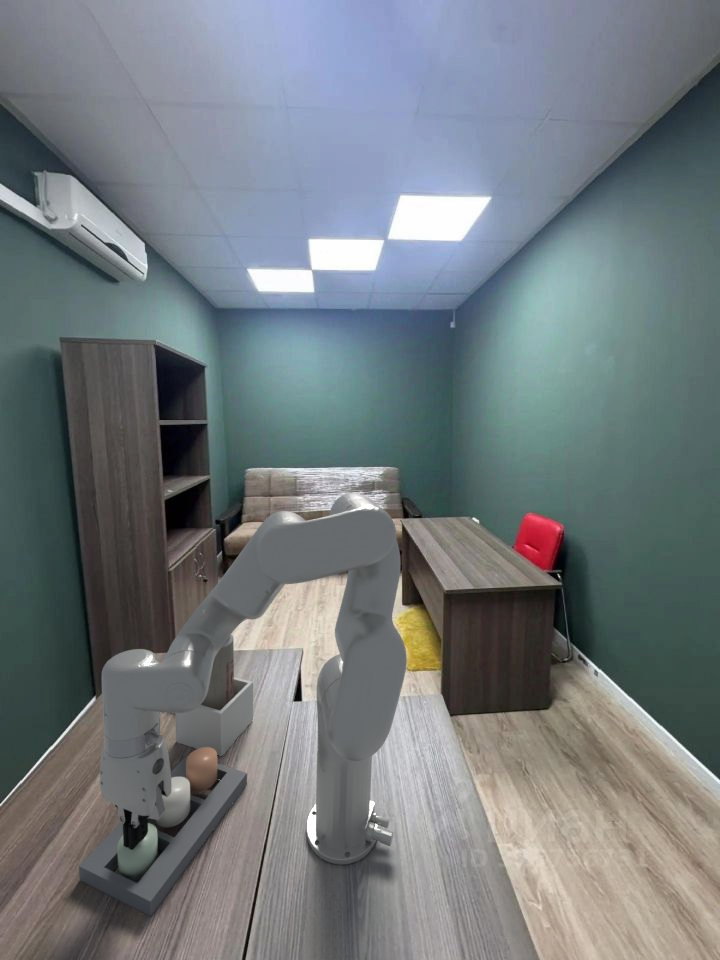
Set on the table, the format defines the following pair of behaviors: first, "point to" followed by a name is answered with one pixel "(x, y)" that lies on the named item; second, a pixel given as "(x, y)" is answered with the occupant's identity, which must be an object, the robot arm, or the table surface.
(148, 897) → the pebble holder tray
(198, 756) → the terracotta egg
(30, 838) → the table surface
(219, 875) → the table surface
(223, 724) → the grey open box
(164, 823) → the cream egg
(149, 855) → the sage egg
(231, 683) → the thermos bottle
